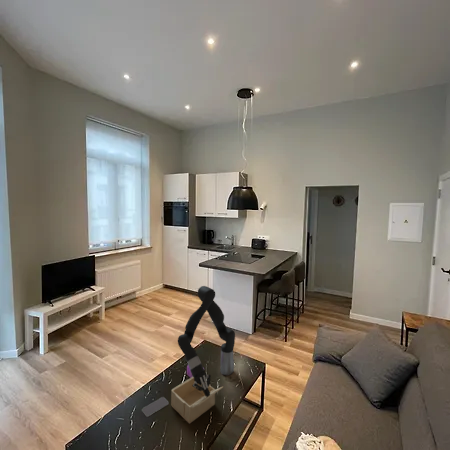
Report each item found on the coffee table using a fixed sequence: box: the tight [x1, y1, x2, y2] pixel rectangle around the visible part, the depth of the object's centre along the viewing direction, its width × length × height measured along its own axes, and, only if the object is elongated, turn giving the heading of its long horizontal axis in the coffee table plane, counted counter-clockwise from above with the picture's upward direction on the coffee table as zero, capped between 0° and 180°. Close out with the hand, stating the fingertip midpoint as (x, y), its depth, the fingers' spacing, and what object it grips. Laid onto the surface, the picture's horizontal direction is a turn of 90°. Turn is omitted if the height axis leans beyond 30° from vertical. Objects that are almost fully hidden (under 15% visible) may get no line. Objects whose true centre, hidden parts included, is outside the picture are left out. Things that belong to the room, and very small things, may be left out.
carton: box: [170, 377, 216, 425], centre depth 157 cm, size 21×19×10 cm
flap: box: [191, 385, 224, 408], centre depth 147 cm, size 19×9×1 cm
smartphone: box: [141, 396, 169, 418], centre depth 155 cm, size 7×1×15 cm
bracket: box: [186, 365, 193, 379], centre depth 187 cm, size 13×6×7 cm, turn 128°
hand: (208, 396), depth 146 cm, fingers closed
